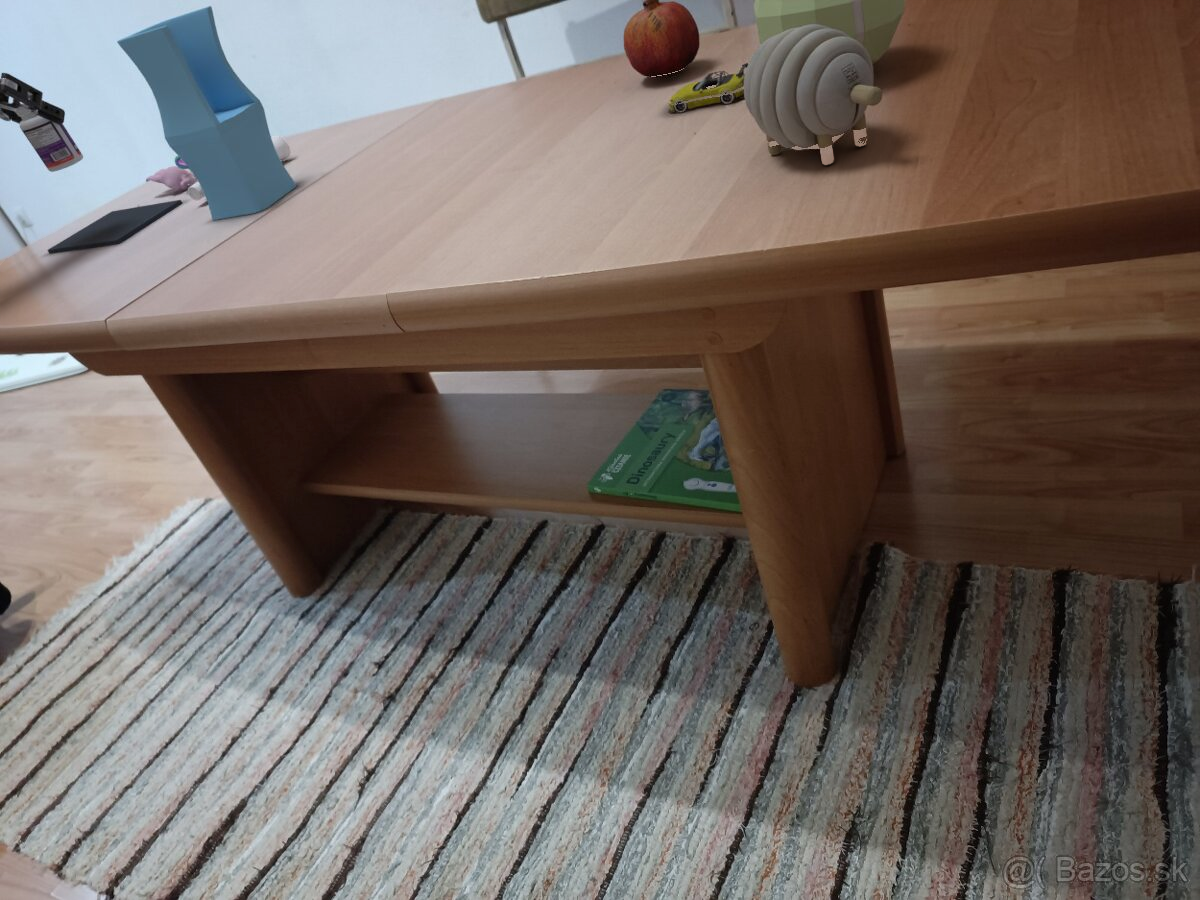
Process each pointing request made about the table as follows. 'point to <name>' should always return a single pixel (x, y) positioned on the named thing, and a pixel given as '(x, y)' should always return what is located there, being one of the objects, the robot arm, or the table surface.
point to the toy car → (709, 91)
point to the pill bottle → (49, 141)
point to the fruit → (661, 39)
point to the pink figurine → (174, 176)
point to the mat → (115, 227)
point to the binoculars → (281, 149)
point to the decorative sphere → (834, 19)
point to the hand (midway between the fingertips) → (50, 120)
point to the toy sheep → (809, 87)
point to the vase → (210, 114)
